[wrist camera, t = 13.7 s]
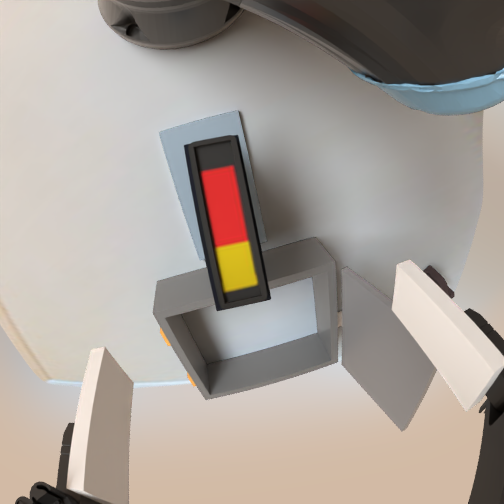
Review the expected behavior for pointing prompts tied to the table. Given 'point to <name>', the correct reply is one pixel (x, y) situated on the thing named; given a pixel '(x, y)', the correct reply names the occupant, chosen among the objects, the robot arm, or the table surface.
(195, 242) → the mat
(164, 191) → the table surface
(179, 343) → the case
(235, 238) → the magazine
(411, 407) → the lid
